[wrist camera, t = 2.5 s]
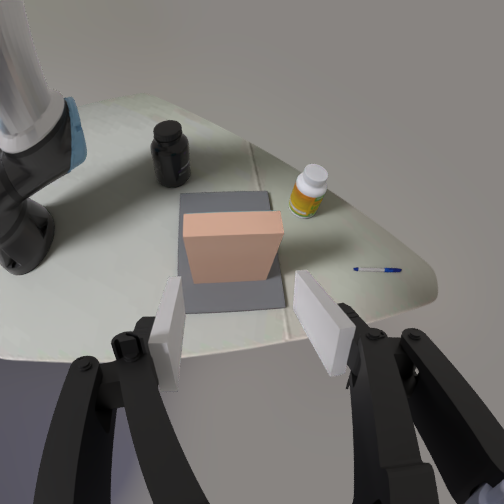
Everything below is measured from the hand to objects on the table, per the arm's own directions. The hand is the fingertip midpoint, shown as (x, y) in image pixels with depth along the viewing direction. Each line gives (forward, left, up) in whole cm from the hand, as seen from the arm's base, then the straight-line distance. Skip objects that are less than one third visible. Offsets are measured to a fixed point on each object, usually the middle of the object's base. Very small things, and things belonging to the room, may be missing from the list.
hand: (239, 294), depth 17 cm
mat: (-10, +13, -24) cm, 29 cm away
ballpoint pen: (+14, +26, -25) cm, 38 cm away
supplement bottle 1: (-28, +19, -25) cm, 42 cm away
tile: (-7, +9, -24) cm, 27 cm away
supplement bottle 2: (-4, +28, -25) cm, 38 cm away
